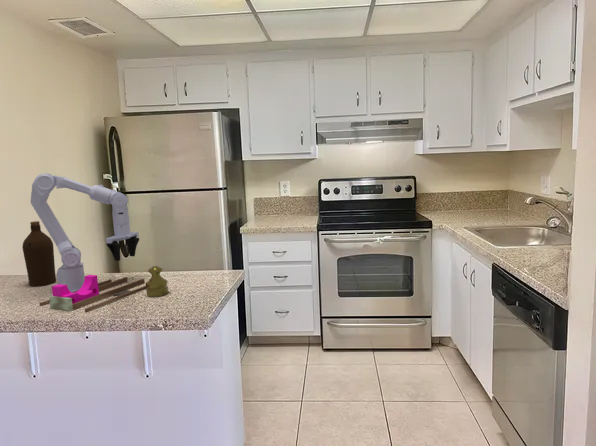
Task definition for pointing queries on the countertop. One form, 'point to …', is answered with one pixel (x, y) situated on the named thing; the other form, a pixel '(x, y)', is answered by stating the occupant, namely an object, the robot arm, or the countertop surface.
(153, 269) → the gold tapered round piece
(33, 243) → the olive oil
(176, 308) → the countertop surface
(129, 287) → the wooden slat rack
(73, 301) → the magenta curved bracket
